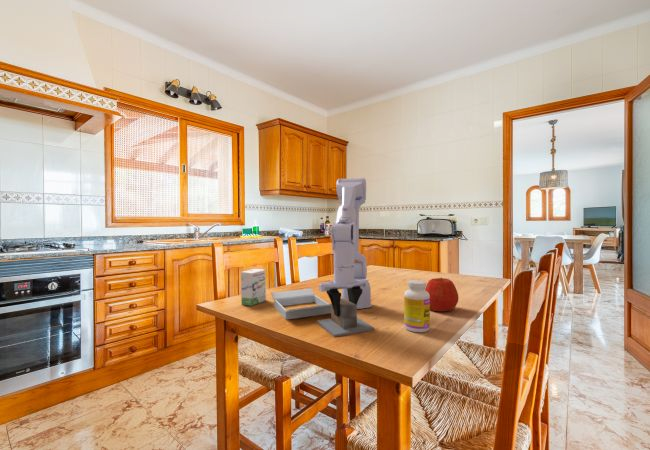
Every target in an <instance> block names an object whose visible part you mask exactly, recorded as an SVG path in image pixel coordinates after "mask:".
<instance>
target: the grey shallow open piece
mask: <svg viewBox="0 0 650 450" xmlns="http://www.w3.org/2000/svg"><path fill="white" fill-rule="evenodd" d="M270 293H271V297H272V299H273V307H274V308H275V309H276V311H277V312H278V313H279V314H280V315H281V316H282V317H283V319H284V320H286V321H287V320H294V319H299V318H307V317H308V318H309V317H314V316H321V315H328V314H331V303H329V302H327V301H325V300H324V299H323V298H321V297H319V296H318V295H316V293H314V291H313V289H312V288H303V289H302V288H301V289H294V290H292V289H291V290H285V291H284V290H283V291H275V292H270ZM314 302H315V303H314ZM310 303H314V304H315V306H314V305H313V306H306V307H299V308H291V309H286V308H285V306H293V305H301V304H310Z"/></svg>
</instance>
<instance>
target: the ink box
mask: <svg viewBox="0 0 650 450" xmlns="http://www.w3.org/2000/svg"><path fill="white" fill-rule="evenodd" d="M266 274H267V273H266V269H262V268H251V269H248V270H244V271H241V272H240V283H241V285H240V289H241V290H240V293H241V299H240V300H241V305H243V306H249V307H252V306H255V305H258V304H260V303H263V302H266V301H267V290H266V289H267V288H266V287H267V285H266V281H267V280H266V277H267V276H266Z"/></svg>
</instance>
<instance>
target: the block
mask: <svg viewBox="0 0 650 450" xmlns="http://www.w3.org/2000/svg"><path fill="white" fill-rule="evenodd" d="M330 304H331V313H330V314H331V318H332V321H333V322H335V323H336V324H337V325H339V326H340V327H341V328H343V329H348V328H354V327H357V318H358V309H357V305H356V304H354V303H352V302H350V301H348V300H346V299H344V298H342V297H341V299H340V316H339V317H337V316H336V315H334V310H333V306H332V303H331V302H330Z"/></svg>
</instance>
